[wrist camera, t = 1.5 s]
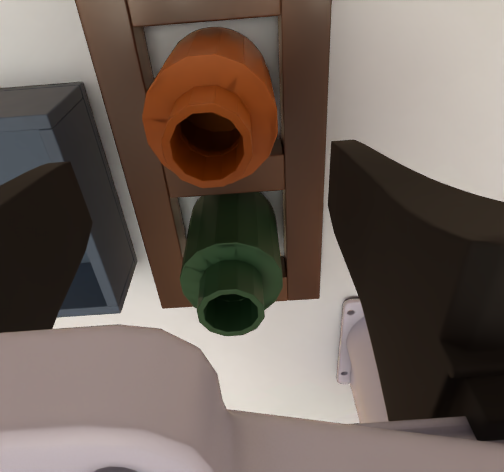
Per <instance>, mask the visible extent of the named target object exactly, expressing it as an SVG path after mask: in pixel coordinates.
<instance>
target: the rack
mask: <svg viewBox="0 0 504 472" xmlns="http://www.w3.org/2000/svg"><path fill="white" fill-rule="evenodd" d="M75 3H76V6H77V10H78V13H79V17H80V20H81V24H82V27H83V31H84V34H85V38H86V41H87V45H88V48H89V52H90V55H91V59H92V62H93V66H94V70H95V73H96V77H97V80H98V84H99V87H100V91H101V94H102V98H103V101H104V105H105V108H106V112H107V115H108V119H109V122H110V126H111V129H112V133H113V136H114V140H115V144H116V147H117V151H118V154H119V158H120V161H121V165H122V168H123V172H124V175H125V179H126V182H127V186H128V189H129V193H130V196H131V200H132V203H133V207H134V210H135V214H136V218H137V221H138V225H139V228H140V232H141V235H142V239H143V242H144V246H145V249H146V253H147V256H148V260H149V263H150V267H151V270H152V274H153V277H154V281H155V284H156V288H157V292H158V295H159V299H160V302H161V306H162V308H179V307H192V306H193V305H192V304H191V303H190V302H189V301H188V299H187V298H186V297H185V296H184V295H183V292H182V288H181V283H180V274H181V268H182V263H183V257H184V251H185V246H186V235H185V230H184V226H183V221H182V216H181V211H180V206H179V201H178V197H191V196H205V195H219V194H233V193H247V192H261V191H275V190H283V223H284V257H280V258H281V266H282V276H283V288H282V290H281V292H280V294H279V296H278V298H277V300H276V301H287V300H304V299H319V296H320V272H321V247H322V223H323V198H324V174H325V150H326V125H327V101H328V77H329V52H330V28H331V4H332V0H75ZM269 16H278V42H279V78H280V114H281V139H276V140H275V142H274V145H273V148H272V150H271V153H270V155H269V157H268V158H267V159H266V160H265V161H264V162H263V163H262V164H261V166H260V167H259V168H258V169H257V170H256V171H255V172H254V173H253V174H251V175H249V176H247V177H245V178H242V179H240V180H238V181H236V182H234V183H232V184H231V183H230V184H228V185H226V186H224V187H212V188H200V187H198V186H195V185H193V184H190V183H188V182H185V181H183V180H181V179H180V178H179V177H178V176H177V175H176V174H175V173H174V172H172V171H171V170H169V169H168V168H167V167H165V166H164V165H163V164H162V163H161V162H160V160H159V159H158V157H157V156H156V155H155V153H154V152H153V150H152V149H151V147H150V146H149V145H148V142H147V138H146V134H145V130H144V125H143V121H142V114H143V109H144V103H145V98H146V93H147V91H148V89H149V87H150V86H151V84H152V83H153V81H154V79H153V74H152V69H151V64H150V59H149V55H148V50H147V45H146V40H145V35H144V30H143V27H145V26H157V25H170V24H182V23H194V22H207V21H219V20H232V19H244V18H256V17H269Z"/></svg>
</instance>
